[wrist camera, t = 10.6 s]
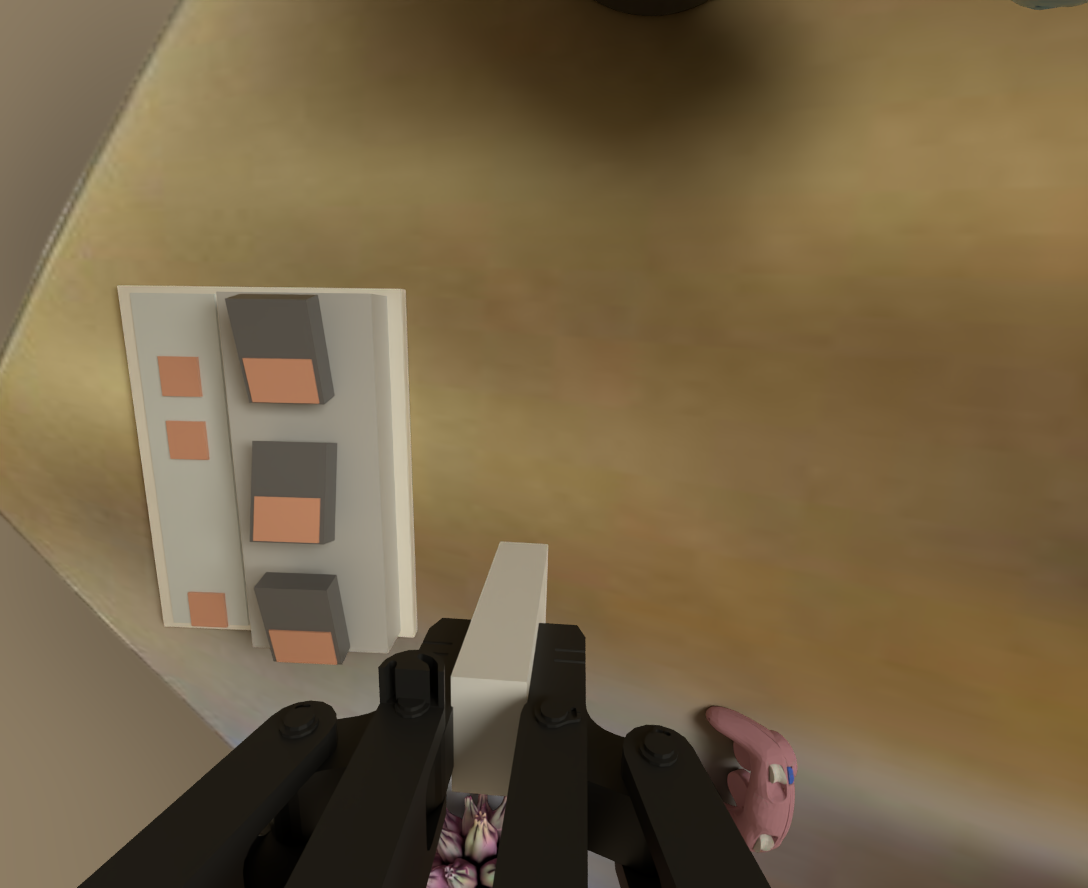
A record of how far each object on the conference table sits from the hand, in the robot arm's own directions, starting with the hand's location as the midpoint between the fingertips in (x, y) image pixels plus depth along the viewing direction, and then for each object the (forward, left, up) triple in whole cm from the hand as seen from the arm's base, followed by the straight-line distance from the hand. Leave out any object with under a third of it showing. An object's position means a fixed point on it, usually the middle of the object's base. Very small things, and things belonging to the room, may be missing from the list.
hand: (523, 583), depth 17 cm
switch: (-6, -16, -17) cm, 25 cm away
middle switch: (+3, -16, -17) cm, 24 cm away
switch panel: (+3, -20, -23) cm, 31 cm away
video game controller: (+26, +15, -24) cm, 38 cm away
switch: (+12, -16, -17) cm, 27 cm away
